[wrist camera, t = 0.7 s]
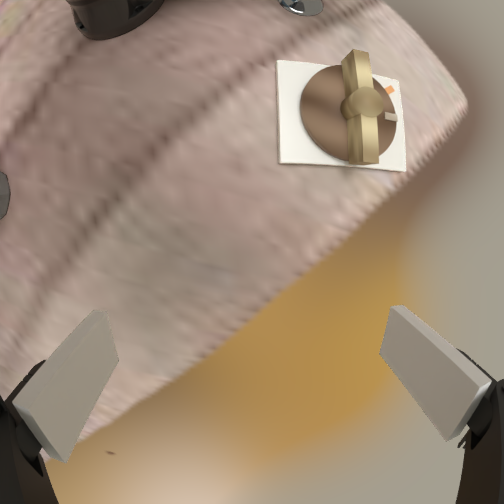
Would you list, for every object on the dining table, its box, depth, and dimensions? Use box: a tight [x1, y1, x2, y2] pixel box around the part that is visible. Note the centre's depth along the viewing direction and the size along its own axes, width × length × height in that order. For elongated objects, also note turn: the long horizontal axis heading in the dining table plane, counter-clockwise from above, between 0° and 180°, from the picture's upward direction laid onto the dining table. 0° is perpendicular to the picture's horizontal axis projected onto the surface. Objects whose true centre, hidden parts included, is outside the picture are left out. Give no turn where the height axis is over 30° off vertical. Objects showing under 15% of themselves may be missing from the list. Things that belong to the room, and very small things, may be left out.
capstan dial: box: [300, 49, 398, 166], centre depth 27 cm, size 14×13×6 cm
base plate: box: [276, 60, 406, 172], centre depth 30 cm, size 14×18×2 cm
